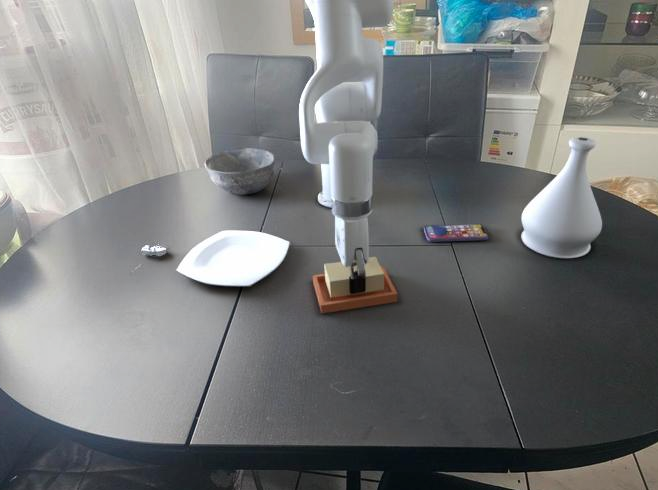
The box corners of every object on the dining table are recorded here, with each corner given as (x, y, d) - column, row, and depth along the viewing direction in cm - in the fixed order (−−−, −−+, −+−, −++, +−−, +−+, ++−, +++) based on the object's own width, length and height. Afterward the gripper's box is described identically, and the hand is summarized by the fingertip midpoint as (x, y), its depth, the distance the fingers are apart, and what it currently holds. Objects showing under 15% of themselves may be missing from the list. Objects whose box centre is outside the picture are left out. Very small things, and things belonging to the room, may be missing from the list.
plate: (255, 301, 92) (253, 293, 91) (163, 280, 99) (161, 273, 98) (302, 245, 110) (301, 238, 108) (222, 231, 117) (220, 225, 115)
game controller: (170, 247, 110) (168, 238, 109) (156, 274, 101) (153, 265, 99) (147, 248, 110) (144, 239, 109) (130, 275, 101) (127, 266, 99)
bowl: (260, 208, 127) (256, 175, 121) (197, 201, 132) (190, 169, 126) (288, 180, 143) (285, 149, 138) (231, 174, 148) (226, 145, 143)
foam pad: (325, 279, 94) (324, 263, 92) (375, 272, 96) (375, 256, 94) (330, 298, 89) (329, 281, 87) (383, 289, 91) (384, 273, 89)
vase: (504, 228, 114) (523, 130, 100) (565, 220, 117) (593, 123, 102) (542, 265, 100) (571, 157, 86) (611, 254, 103) (650, 148, 88)
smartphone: (422, 228, 115) (480, 226, 115) (427, 242, 109) (489, 240, 109) (423, 225, 114) (481, 223, 115) (428, 239, 108) (489, 237, 108)
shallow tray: (313, 283, 97) (312, 275, 95) (382, 273, 99) (382, 265, 98) (321, 313, 88) (320, 305, 87) (397, 301, 90) (397, 293, 89)
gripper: (323, 186, 88) (328, 262, 99) (341, 228, 74) (344, 311, 85) (360, 182, 89) (361, 257, 100) (384, 222, 76) (382, 304, 86)
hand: (353, 281), depth 92 cm, fingers closed on foam pad, 6 cm apart
